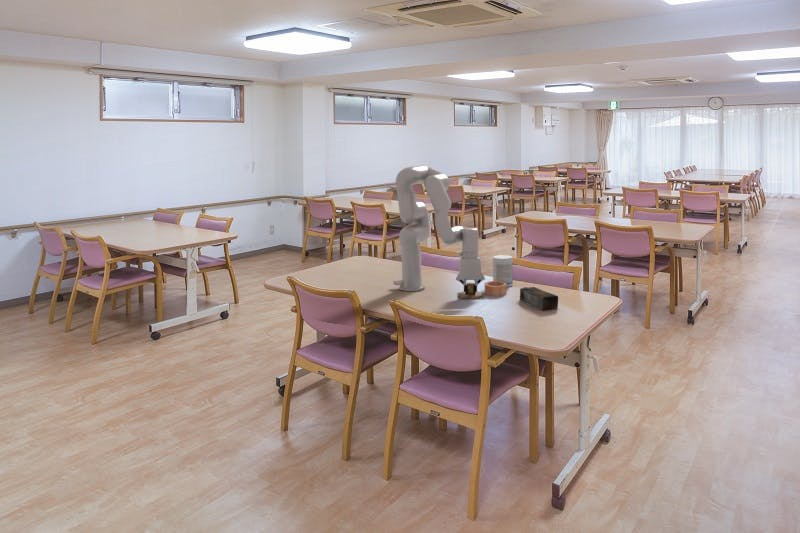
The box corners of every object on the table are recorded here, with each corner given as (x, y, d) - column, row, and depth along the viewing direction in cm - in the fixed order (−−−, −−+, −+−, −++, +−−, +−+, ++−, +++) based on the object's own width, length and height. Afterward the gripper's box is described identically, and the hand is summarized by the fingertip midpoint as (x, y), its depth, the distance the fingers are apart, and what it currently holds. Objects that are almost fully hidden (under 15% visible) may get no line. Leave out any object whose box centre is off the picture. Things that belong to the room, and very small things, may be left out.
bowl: (485, 297, 281) (485, 286, 280) (484, 291, 291) (484, 281, 290) (507, 296, 281) (507, 286, 280) (505, 291, 290) (505, 281, 289)
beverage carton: (534, 298, 277) (534, 284, 276) (558, 309, 259) (559, 295, 258) (519, 300, 274) (519, 286, 273) (543, 312, 257) (543, 297, 255)
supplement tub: (516, 286, 300) (516, 256, 296) (502, 289, 295) (502, 259, 291) (503, 282, 308) (503, 254, 304) (488, 285, 303) (489, 256, 299)
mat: (457, 300, 276) (457, 299, 276) (457, 293, 288) (457, 292, 288) (484, 300, 276) (484, 299, 275) (482, 293, 287) (482, 292, 287)
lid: (458, 299, 277) (458, 286, 275) (458, 293, 287) (458, 280, 286) (483, 299, 276) (483, 286, 275) (481, 292, 287) (481, 280, 285)
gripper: (452, 256, 274) (452, 295, 278) (489, 256, 273) (488, 295, 277) (452, 253, 282) (452, 291, 286) (487, 252, 281) (487, 291, 285)
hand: (470, 293), depth 281 cm, fingers closed on lid, 3 cm apart
